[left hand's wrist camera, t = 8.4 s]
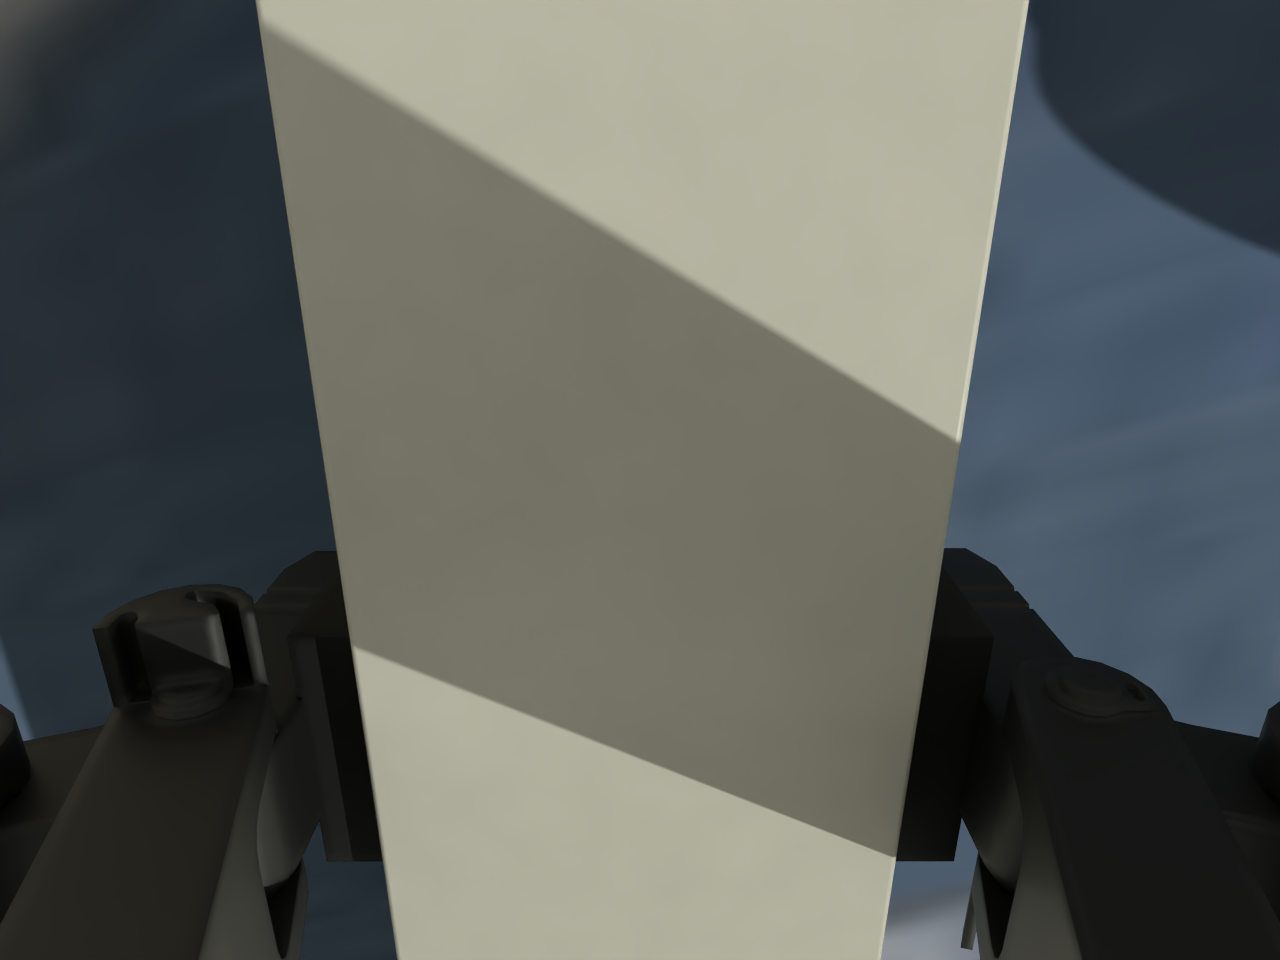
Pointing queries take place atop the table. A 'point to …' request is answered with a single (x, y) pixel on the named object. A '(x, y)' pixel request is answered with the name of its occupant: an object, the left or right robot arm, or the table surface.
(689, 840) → the bar
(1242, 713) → the table surface
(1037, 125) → the table surface
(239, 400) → the table surface
